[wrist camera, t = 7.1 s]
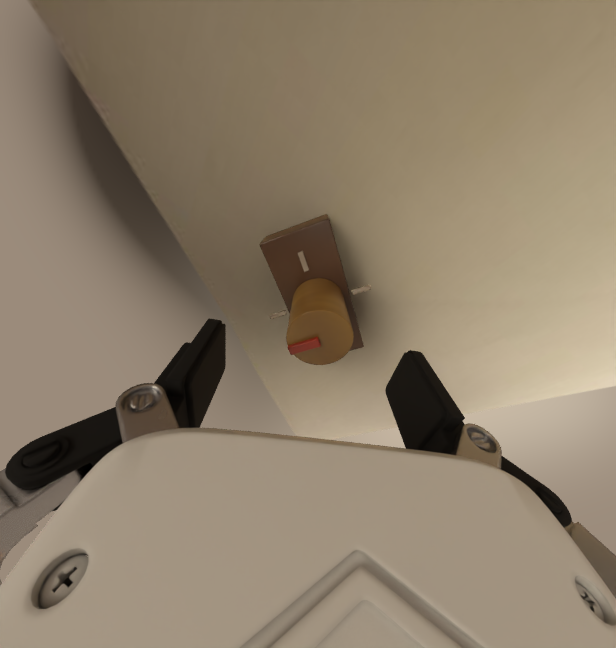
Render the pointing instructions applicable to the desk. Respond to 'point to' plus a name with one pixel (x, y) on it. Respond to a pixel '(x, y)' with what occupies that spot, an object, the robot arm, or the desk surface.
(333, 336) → the knob
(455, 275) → the desk surface
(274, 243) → the dial panel
